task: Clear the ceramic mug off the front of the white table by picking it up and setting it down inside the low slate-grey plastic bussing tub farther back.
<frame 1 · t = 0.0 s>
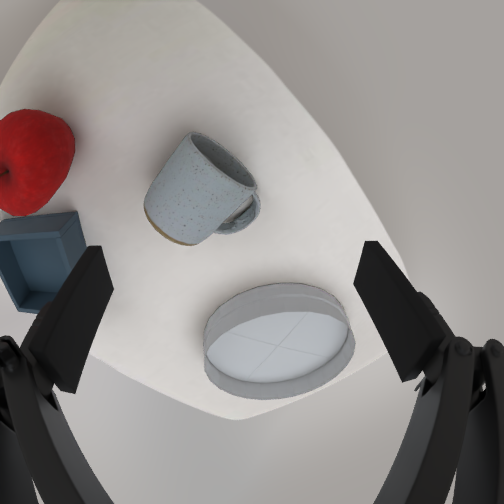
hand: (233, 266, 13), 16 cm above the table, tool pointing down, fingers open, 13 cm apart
apple: (57, 144, 23), on the table
ceramic mug: (212, 183, 28), on the table
dish: (276, 337, 42), on the table
tub: (48, 257, 31), on the table
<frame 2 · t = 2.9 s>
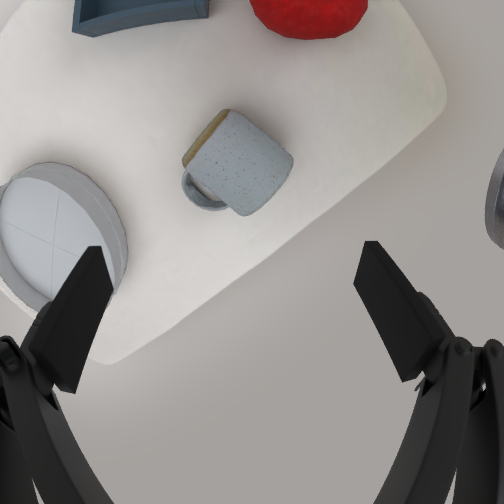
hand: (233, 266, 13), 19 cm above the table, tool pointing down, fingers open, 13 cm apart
apple: (290, 11, 20), on the table
ceramic mug: (228, 162, 29), on the table
dish: (58, 239, 32), on the table
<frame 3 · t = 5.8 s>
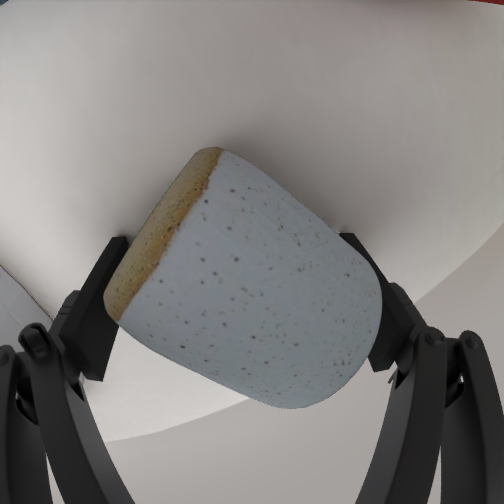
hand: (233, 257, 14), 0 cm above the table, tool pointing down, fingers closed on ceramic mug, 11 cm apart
ceramic mug: (223, 253, 14), on the table, touching gripper
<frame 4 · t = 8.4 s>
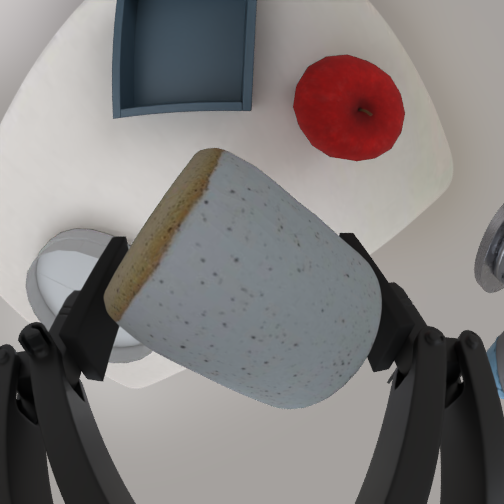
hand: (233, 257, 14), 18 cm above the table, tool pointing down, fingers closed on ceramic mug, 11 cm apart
apple: (324, 103, 26), on the table
ceramic mug: (223, 254, 14), point 18 cm above the table, touching gripper
dish: (98, 292, 38), on the table
tub: (188, 46, 22), on the table
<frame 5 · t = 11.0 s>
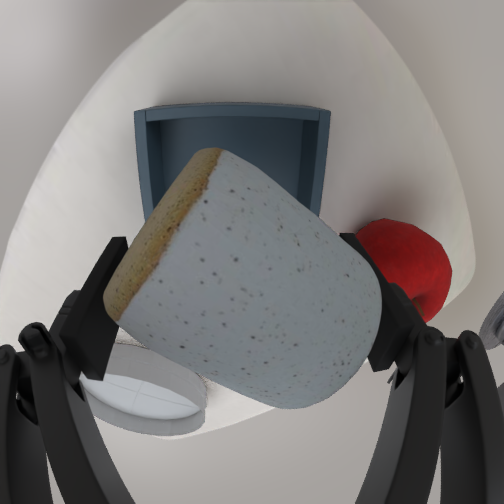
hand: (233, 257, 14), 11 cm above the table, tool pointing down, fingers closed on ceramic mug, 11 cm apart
apple: (371, 241, 28), on the table
ceramic mug: (223, 253, 14), point 11 cm above the table, touching gripper
dish: (139, 384, 39), on the table
tub: (231, 185, 23), on the table
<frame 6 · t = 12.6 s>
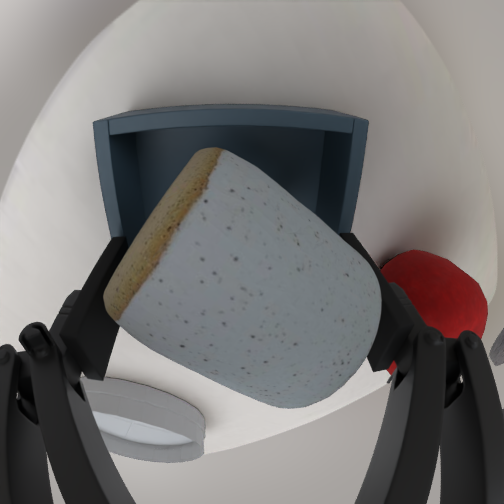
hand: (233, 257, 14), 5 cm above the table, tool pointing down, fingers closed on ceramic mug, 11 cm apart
apple: (395, 272, 23), on the table
ceramic mug: (223, 253, 14), point 5 cm above the table, touching gripper
dish: (133, 413, 34), on the table
tub: (229, 212, 18), on the table
when the fingers open (5 cm above the table, at t = 16.6 s): ceramic mug drops 4 cm, resting on tub.
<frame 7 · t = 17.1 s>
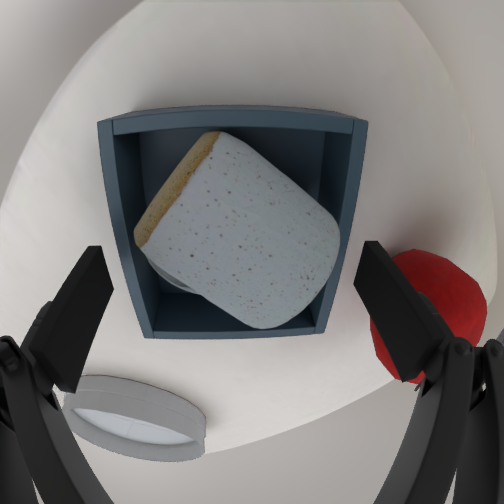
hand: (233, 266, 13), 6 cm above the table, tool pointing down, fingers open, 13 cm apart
apple: (395, 272, 23), on the table
ceramic mug: (222, 216, 18), point 1 cm above the table, touching tub
dish: (134, 412, 35), on the table
tub: (231, 211, 19), on the table
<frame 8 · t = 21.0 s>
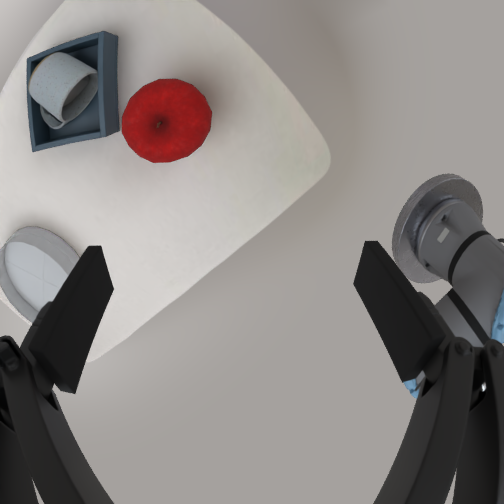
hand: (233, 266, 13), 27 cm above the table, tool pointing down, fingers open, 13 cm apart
apple: (176, 115, 33), on the table
ceramic mug: (73, 92, 28), point 1 cm above the table, touching tub
dish: (46, 275, 44), on the table
tub: (78, 91, 28), on the table
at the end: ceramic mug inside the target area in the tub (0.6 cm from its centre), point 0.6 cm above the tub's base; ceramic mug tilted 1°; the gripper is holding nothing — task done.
